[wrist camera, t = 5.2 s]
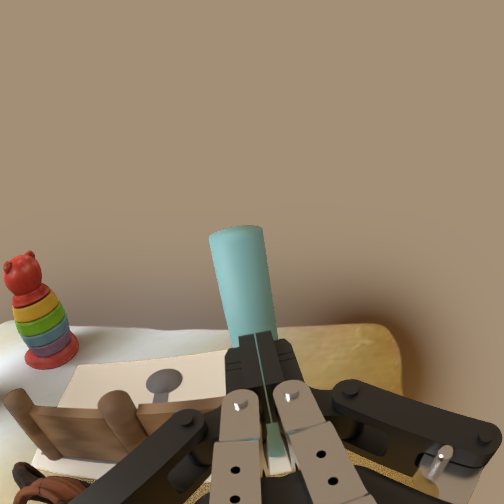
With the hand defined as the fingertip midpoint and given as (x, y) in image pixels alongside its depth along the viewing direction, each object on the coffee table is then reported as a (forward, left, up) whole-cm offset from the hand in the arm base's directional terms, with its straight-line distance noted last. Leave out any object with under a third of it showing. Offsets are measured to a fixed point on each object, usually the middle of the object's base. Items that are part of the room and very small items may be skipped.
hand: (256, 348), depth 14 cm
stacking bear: (-34, +26, -16) cm, 46 cm away
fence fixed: (-18, +5, -16) cm, 25 cm away
